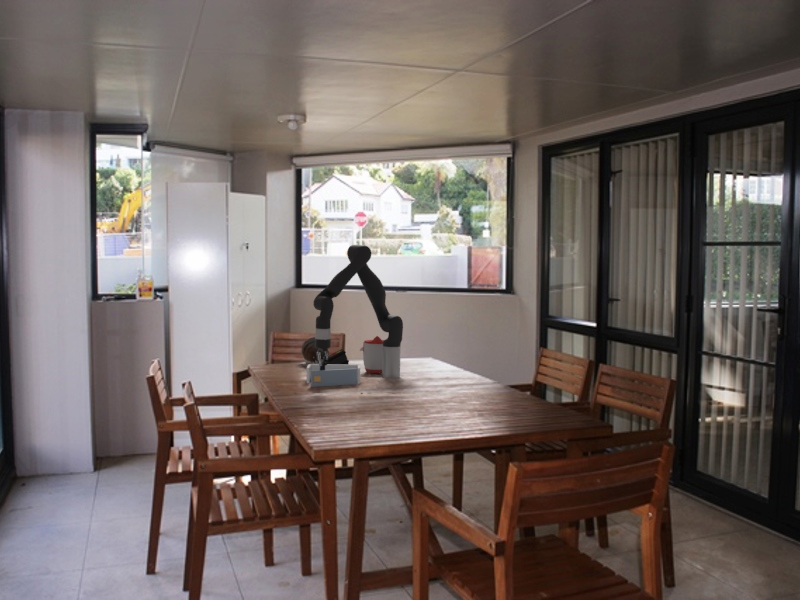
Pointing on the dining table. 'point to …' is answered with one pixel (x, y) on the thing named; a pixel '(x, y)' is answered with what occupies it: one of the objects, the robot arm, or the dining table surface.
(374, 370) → the citrus juicer
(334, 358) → the black ridged battery pack
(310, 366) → the case
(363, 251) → the robot arm
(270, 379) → the dining table surface
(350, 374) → the door
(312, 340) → the clay pot
